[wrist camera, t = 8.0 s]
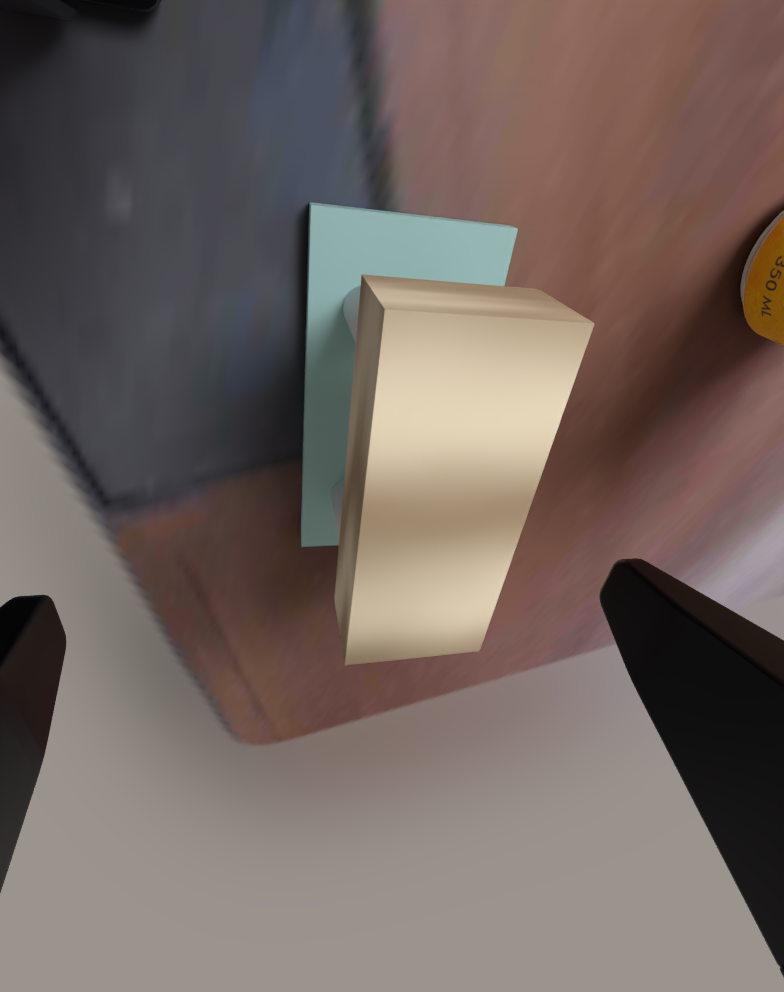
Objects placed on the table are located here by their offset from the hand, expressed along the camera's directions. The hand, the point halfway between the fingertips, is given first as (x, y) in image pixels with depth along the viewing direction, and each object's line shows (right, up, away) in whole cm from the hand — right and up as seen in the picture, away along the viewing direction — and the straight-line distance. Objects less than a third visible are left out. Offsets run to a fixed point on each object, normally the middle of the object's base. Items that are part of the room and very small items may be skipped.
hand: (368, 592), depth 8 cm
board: (+1, +2, +9) cm, 9 cm away
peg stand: (0, +5, +13) cm, 14 cm away
